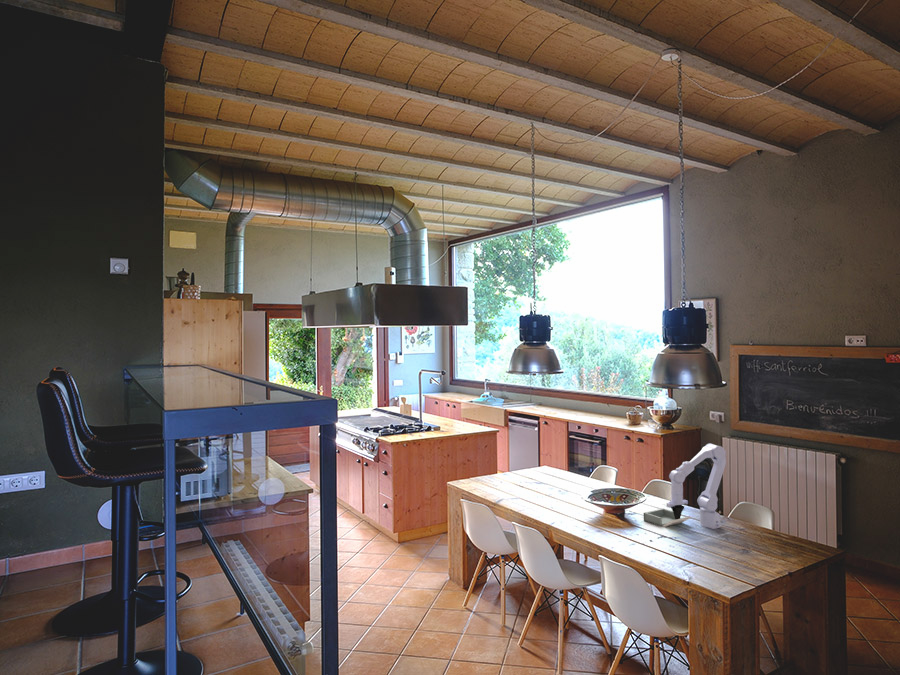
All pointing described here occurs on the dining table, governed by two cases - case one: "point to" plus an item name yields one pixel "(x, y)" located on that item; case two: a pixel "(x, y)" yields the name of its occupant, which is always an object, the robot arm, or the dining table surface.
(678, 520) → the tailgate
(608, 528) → the dining table surface
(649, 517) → the cart bed
